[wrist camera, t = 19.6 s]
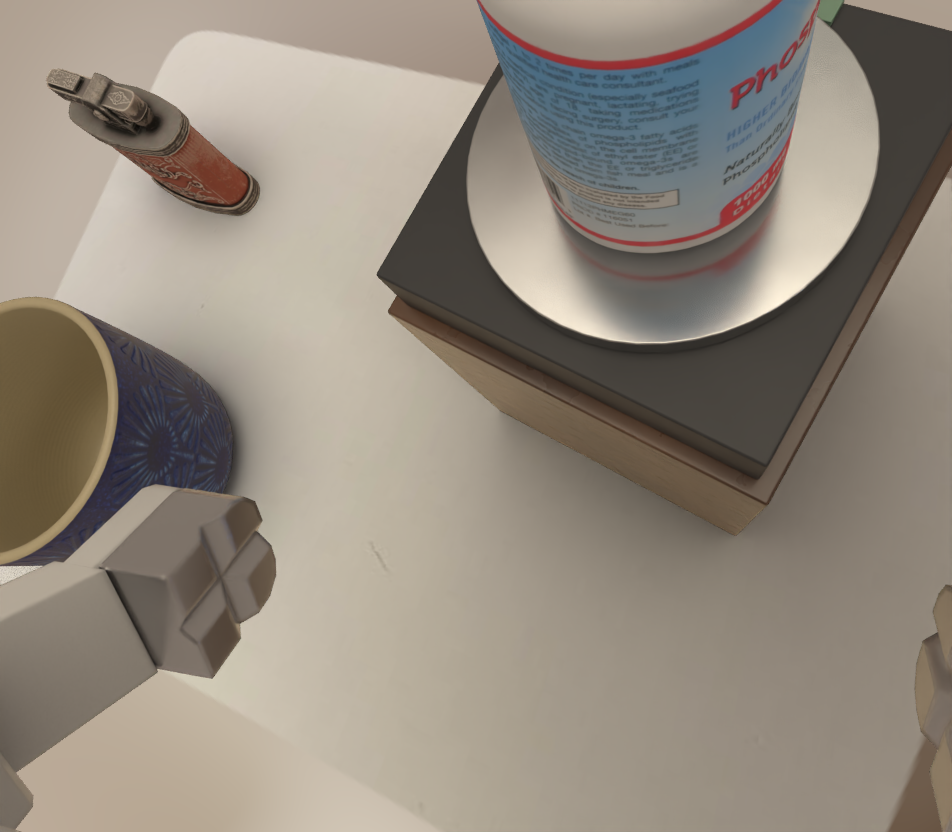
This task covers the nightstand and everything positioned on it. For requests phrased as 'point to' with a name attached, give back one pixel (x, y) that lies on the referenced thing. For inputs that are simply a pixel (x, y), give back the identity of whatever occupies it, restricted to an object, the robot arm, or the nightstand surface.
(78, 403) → the planter
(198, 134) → the lighter
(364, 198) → the nightstand surface
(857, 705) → the nightstand surface
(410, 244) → the kitchen scale
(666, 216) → the pill bottle
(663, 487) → the walnut riser
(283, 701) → the nightstand surface
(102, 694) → the robot arm
